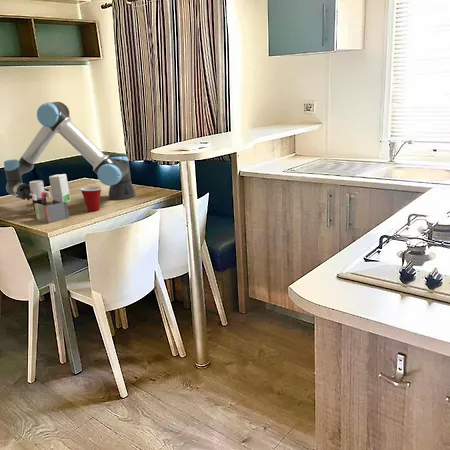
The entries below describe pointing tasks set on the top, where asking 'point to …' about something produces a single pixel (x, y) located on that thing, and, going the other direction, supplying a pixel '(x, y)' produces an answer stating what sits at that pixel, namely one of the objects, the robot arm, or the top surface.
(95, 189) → the plastic cup
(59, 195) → the skincare box
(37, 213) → the grey desk organizer
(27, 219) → the top surface
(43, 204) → the plunger
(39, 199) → the beverage can
